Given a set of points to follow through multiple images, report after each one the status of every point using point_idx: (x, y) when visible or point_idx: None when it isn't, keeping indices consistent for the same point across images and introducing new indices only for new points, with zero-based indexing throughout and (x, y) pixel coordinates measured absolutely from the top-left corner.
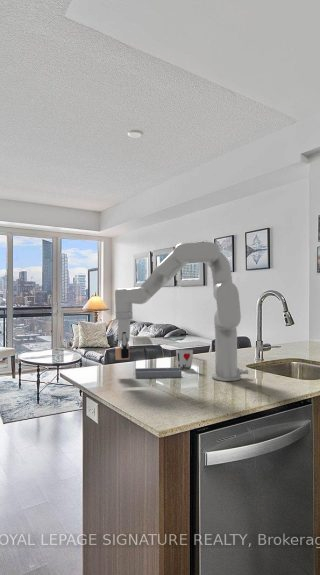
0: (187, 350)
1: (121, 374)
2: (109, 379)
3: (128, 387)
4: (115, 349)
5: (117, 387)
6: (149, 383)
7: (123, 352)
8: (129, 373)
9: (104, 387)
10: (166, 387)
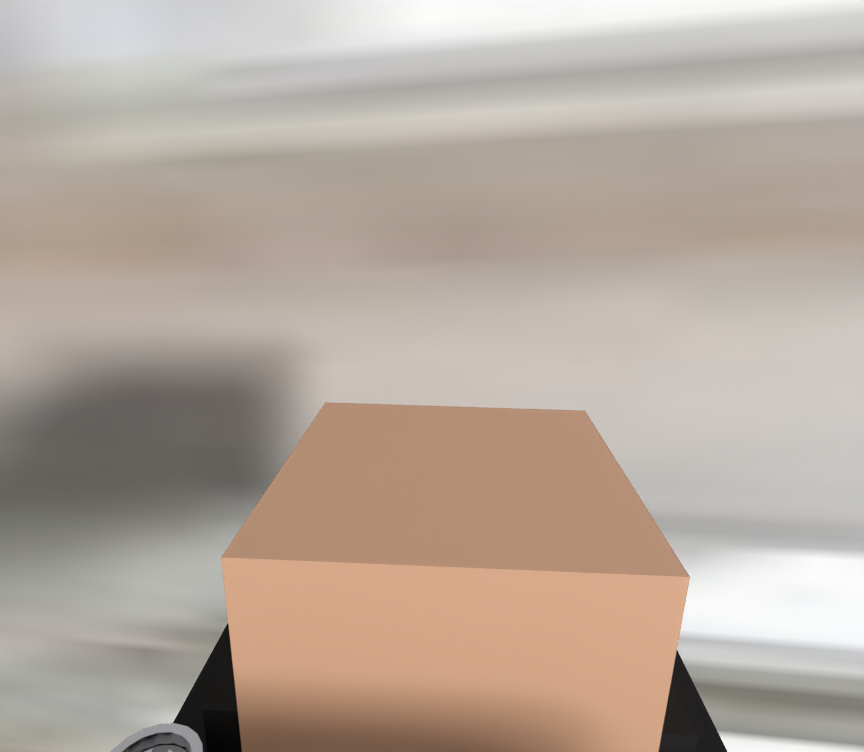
0: None
1: (741, 381)
2: (454, 228)
3: (42, 445)
4: (238, 539)
5: (31, 335)
6: (219, 634)
7: (202, 681)
8: (774, 478)
9: (15, 182)
10: (72, 735)
